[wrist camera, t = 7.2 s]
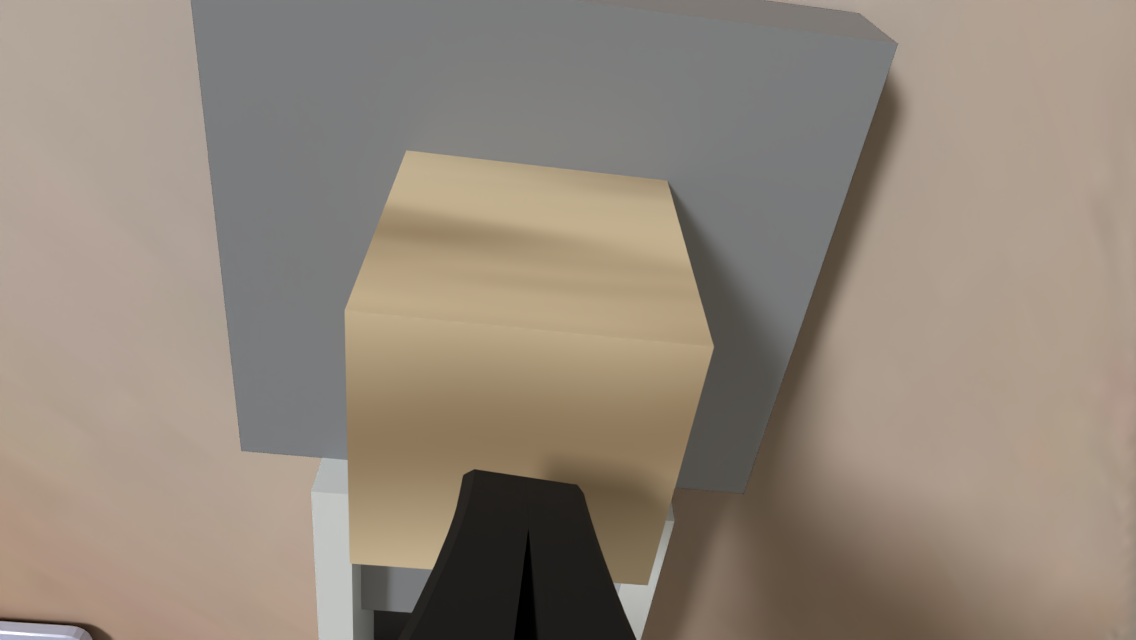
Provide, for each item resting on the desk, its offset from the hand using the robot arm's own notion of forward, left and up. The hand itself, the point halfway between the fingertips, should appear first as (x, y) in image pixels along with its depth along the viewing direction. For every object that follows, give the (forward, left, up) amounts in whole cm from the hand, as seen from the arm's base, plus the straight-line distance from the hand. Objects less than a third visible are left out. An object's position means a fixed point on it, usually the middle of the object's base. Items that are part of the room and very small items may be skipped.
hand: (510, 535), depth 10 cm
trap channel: (-7, 0, -8) cm, 11 cm away
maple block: (0, 0, -6) cm, 6 cm away
